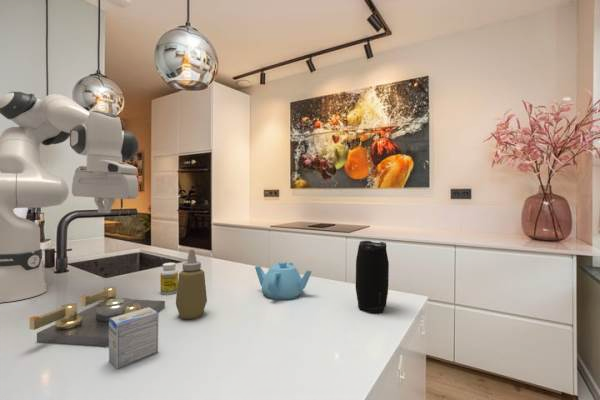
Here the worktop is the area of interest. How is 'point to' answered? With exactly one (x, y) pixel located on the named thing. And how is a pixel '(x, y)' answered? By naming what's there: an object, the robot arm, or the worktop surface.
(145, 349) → the medicine box
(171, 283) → the supplement bottle
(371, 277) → the portable speaker
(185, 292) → the squeeze bottle
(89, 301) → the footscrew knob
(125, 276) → the worktop surface
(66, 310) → the lever
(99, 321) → the levelling base
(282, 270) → the teapot
